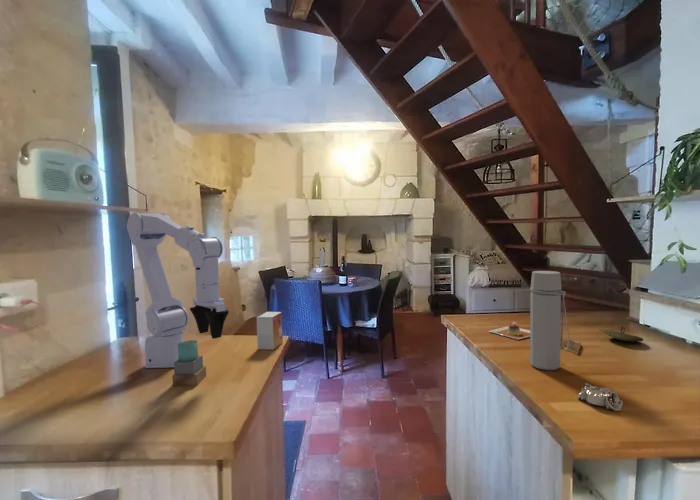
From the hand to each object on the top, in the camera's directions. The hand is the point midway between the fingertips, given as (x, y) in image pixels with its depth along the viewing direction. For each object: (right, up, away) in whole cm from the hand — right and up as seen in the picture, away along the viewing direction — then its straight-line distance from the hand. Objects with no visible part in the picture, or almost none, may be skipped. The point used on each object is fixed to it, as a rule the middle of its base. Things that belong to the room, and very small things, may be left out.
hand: (210, 335), depth 100 cm
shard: (+104, -8, +15) cm, 106 cm away
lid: (+122, -7, +19) cm, 124 cm away
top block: (-4, -8, -4) cm, 10 cm away
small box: (+11, -9, +24) cm, 28 cm away
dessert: (+93, -7, +31) cm, 99 cm away
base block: (-4, -11, -4) cm, 12 cm away
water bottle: (+89, -9, 0) cm, 90 cm away
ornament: (+89, -10, -21) cm, 92 cm away
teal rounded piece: (-4, -5, -4) cm, 8 cm away
